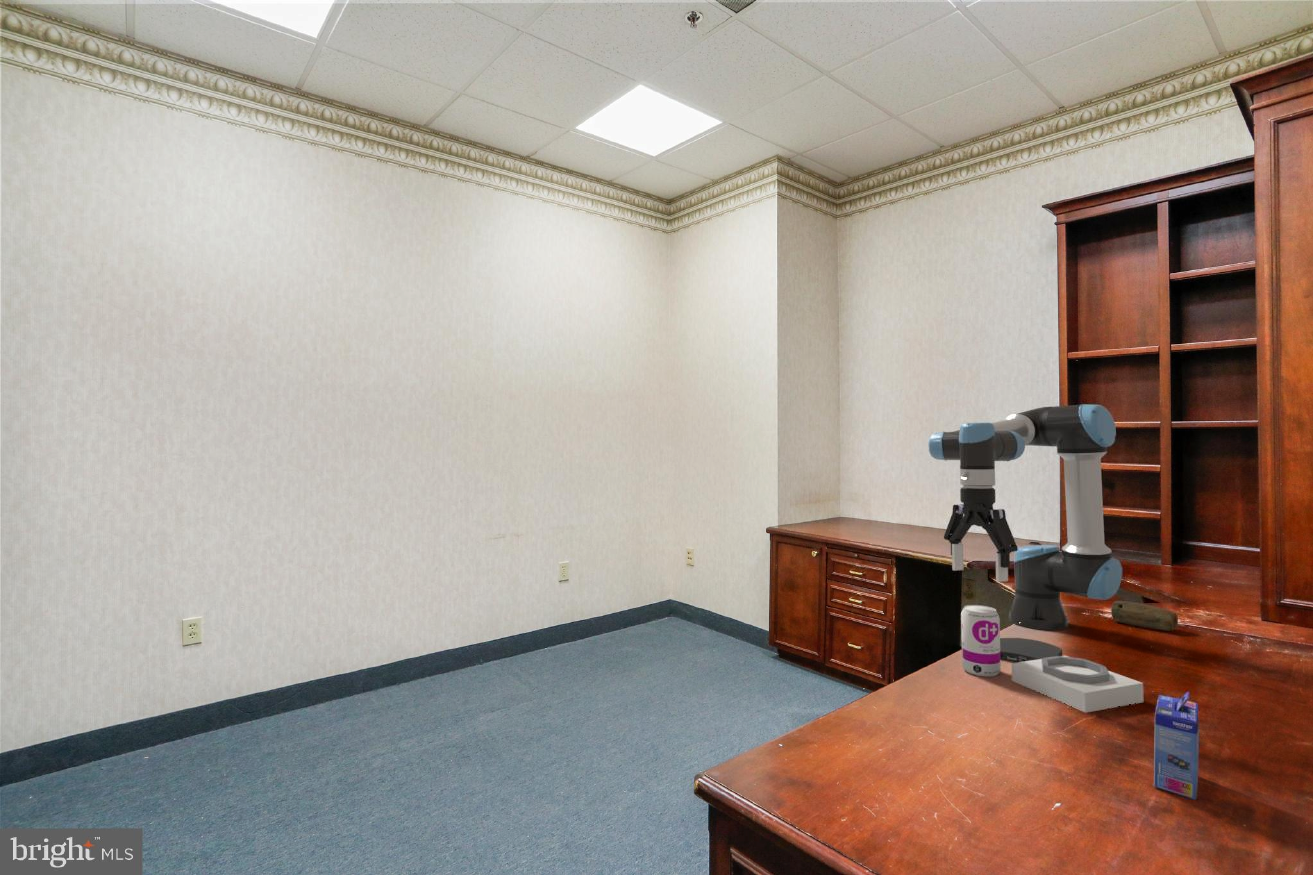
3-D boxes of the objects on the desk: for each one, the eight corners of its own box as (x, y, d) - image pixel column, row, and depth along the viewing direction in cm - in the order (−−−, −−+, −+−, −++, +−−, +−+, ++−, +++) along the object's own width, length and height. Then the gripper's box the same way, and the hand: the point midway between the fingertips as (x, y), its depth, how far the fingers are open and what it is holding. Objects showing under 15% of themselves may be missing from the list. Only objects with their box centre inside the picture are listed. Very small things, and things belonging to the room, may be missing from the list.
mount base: (1011, 680, 145) (1011, 656, 145) (1065, 672, 149) (1065, 649, 149) (1085, 712, 127) (1084, 685, 128) (1143, 702, 132) (1142, 675, 132)
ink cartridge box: (1199, 802, 96) (1197, 706, 96) (1153, 789, 100) (1151, 697, 100) (1200, 775, 104) (1198, 687, 104) (1157, 764, 107) (1155, 679, 107)
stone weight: (1109, 624, 187) (1109, 601, 187) (1115, 619, 191) (1115, 597, 192) (1174, 635, 176) (1174, 611, 176) (1179, 630, 180) (1178, 606, 180)
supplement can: (1005, 678, 146) (1004, 614, 146) (967, 676, 148) (966, 612, 148) (994, 666, 154) (993, 605, 154) (958, 664, 156) (956, 603, 156)
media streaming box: (1065, 656, 161) (1065, 644, 161) (1052, 671, 151) (1052, 659, 151) (1002, 644, 171) (1002, 633, 171) (986, 658, 161) (986, 646, 161)
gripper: (928, 484, 162) (929, 566, 162) (1007, 490, 138) (1009, 587, 138) (952, 483, 164) (953, 564, 164) (1034, 489, 140) (1036, 585, 140)
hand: (979, 575), depth 151 cm, fingers open, 13 cm apart
